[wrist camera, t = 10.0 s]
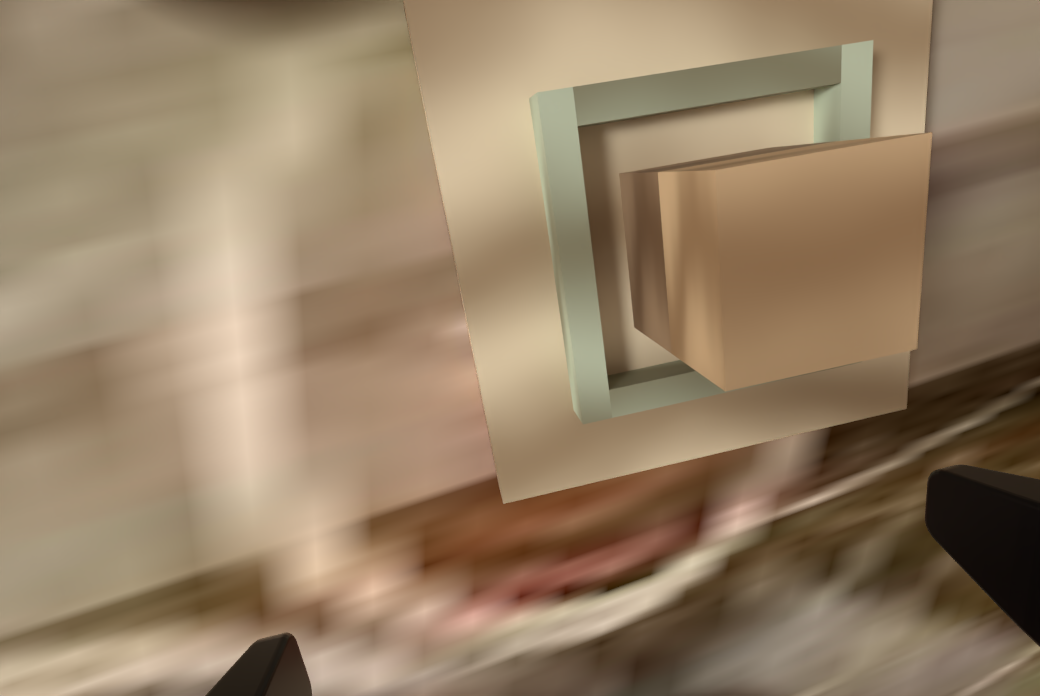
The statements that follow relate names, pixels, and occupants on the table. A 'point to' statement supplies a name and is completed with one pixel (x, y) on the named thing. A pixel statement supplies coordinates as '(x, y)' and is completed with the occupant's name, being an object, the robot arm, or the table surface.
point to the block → (780, 256)
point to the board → (598, 204)
